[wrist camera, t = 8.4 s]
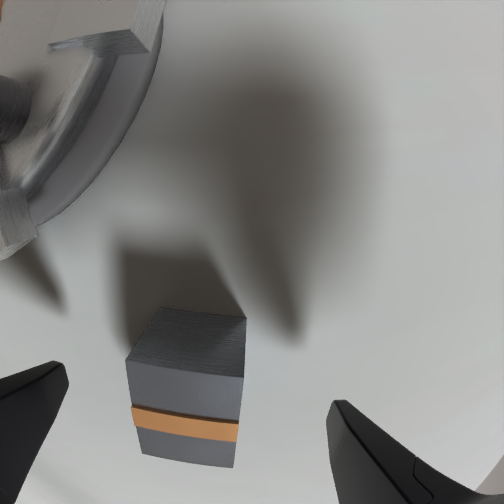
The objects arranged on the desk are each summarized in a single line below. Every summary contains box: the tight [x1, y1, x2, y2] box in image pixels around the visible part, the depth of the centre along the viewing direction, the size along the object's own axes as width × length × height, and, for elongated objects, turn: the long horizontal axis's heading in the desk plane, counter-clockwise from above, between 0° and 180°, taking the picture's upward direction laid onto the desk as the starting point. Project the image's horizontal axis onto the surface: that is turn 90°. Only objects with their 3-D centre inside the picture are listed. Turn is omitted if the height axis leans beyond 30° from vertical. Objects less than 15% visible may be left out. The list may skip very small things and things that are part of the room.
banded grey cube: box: [125, 307, 247, 468], centre depth 9 cm, size 4×3×4 cm
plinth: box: [27, 13, 163, 227], centre depth 7 cm, size 16×14×1 cm
